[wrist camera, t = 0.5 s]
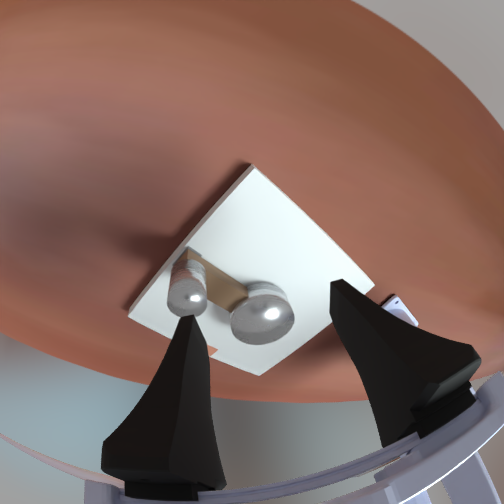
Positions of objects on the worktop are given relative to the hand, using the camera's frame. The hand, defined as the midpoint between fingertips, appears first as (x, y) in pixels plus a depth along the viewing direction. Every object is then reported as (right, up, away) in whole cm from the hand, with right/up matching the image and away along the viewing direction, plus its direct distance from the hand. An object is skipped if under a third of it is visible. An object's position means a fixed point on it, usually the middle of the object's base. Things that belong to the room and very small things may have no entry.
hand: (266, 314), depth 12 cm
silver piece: (-2, 0, +9) cm, 9 cm away
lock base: (0, -1, +12) cm, 12 cm away
